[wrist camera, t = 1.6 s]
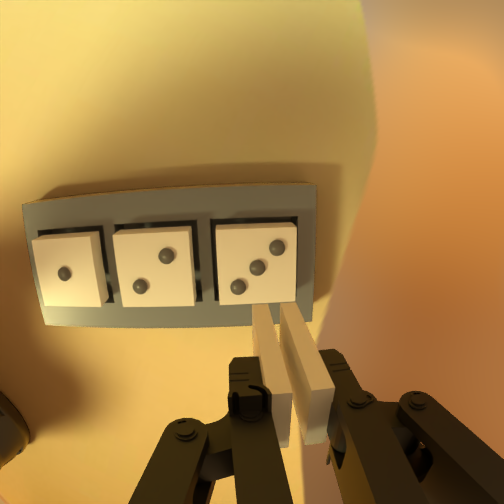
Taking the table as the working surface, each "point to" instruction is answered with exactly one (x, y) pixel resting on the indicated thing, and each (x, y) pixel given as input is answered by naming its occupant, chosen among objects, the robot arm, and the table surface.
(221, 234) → the key three
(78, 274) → the key one
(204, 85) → the table surface
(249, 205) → the keypad
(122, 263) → the key two
